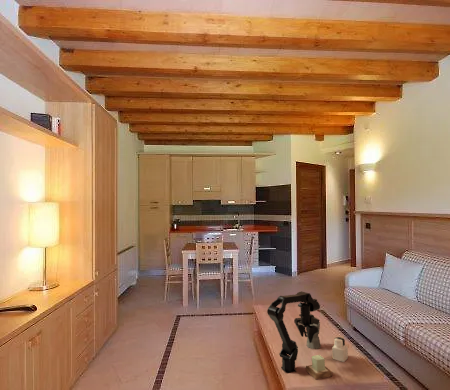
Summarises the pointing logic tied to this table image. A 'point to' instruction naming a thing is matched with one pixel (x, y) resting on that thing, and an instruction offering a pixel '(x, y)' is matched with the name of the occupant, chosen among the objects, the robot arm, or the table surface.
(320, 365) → the sage block
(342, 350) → the medicine bottle
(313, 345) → the coffeepot
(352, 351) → the table surface
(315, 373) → the walnut base
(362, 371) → the table surface
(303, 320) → the robot arm
